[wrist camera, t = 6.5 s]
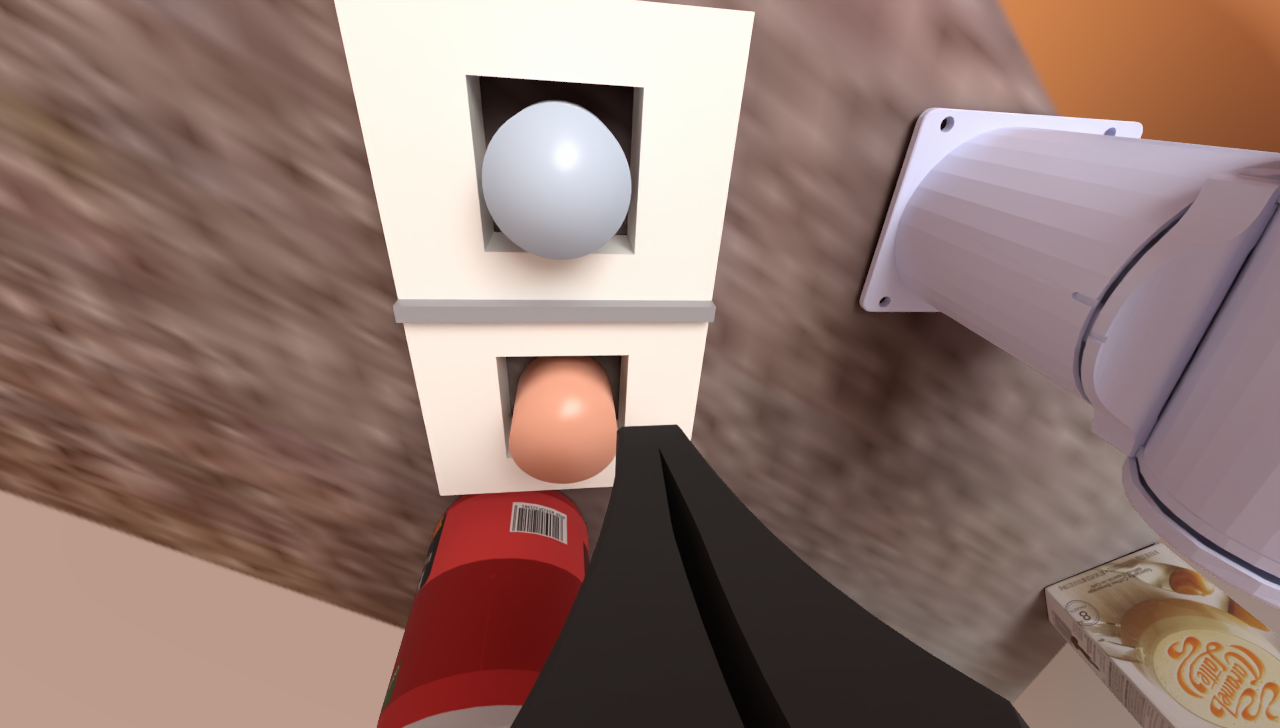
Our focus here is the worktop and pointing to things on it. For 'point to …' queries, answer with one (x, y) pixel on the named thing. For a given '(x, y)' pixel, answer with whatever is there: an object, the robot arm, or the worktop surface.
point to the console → (510, 276)
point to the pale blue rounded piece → (556, 180)
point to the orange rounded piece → (563, 419)
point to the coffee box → (1170, 643)
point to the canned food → (487, 610)
